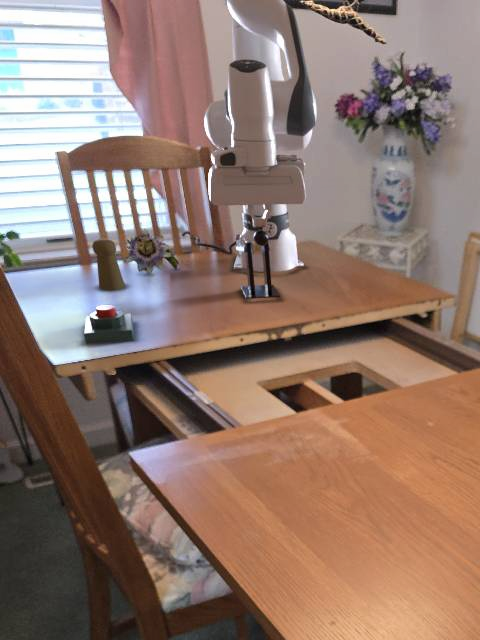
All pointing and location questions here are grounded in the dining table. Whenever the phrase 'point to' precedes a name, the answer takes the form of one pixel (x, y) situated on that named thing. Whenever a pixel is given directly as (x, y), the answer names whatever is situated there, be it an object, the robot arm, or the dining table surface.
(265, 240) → the lever
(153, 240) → the passion flower
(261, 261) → the robot arm
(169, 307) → the dining table surface
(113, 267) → the cork
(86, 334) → the button block
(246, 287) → the black two-post stand
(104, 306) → the button
